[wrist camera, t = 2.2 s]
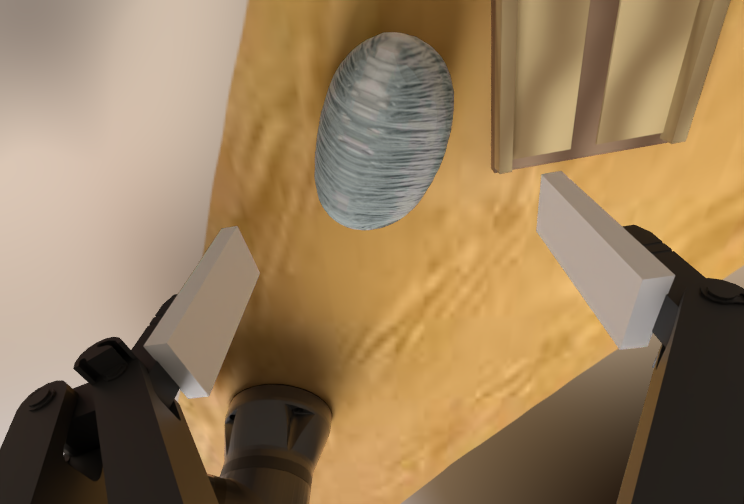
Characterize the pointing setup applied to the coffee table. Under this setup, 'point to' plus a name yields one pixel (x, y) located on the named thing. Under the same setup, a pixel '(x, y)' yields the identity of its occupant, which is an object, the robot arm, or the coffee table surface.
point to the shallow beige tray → (595, 75)
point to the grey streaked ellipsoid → (382, 130)
